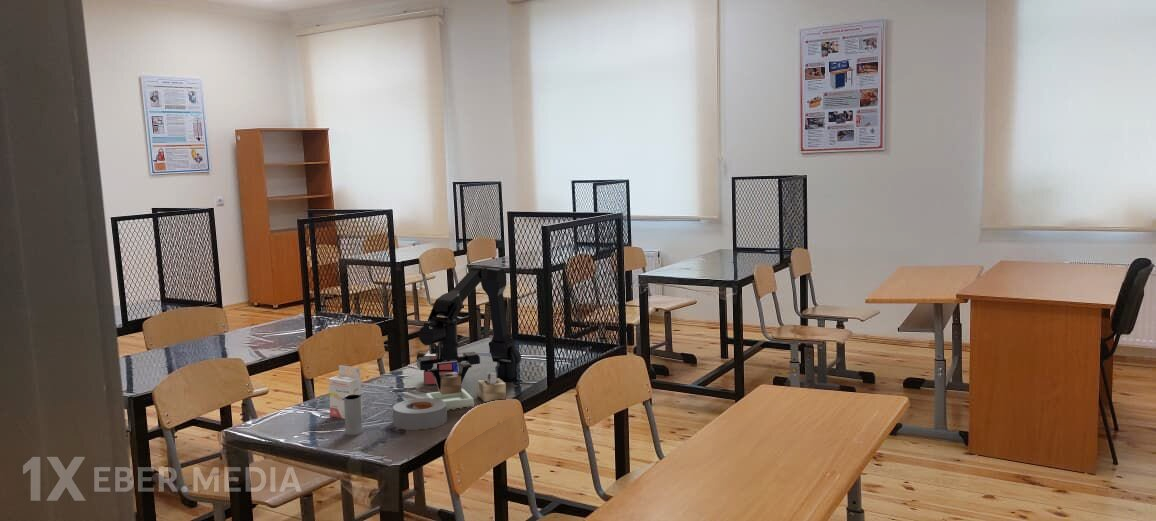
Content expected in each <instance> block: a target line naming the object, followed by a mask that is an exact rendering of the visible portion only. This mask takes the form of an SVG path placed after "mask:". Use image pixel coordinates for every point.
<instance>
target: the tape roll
mask: <svg viewBox="0 0 1156 521" xmlns="http://www.w3.org/2000/svg"><path fill="white" fill-rule="evenodd" d="M447 412H448V410H447V409H446V403H445V402H444V401H442V400H439V399H432V398H426V397H424V398H423V397H422V398H413V399H412V398H411V399H406V400H402V401H399V402H397V403H395V404H394V405H393V406H392V414H393V415H392V421H393V422H392V423H393V426H394V427H395V428H397V429H400V430H405V431H420V430H419V429H424V430H429V429H428V428H431V429H434V428H433V427H435V428H438V427H441V426H443V425H444V423H445V422H446V421H448V414H447ZM446 423H447V422H446ZM446 423H445V424H446ZM442 424H443V425H442ZM440 425H441V426H440ZM437 426H438V427H437ZM417 429H418V430H417Z"/></svg>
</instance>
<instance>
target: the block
mask: <svg viewBox="0 0 1156 521" xmlns="http://www.w3.org/2000/svg"><path fill="white" fill-rule="evenodd" d="M458 373H459V372H458ZM458 373H457V372H451V373H442V374H440V389H438V388H437V390H438V391H437V392H440V393H441V394H442V395H444V394H452V393H460V392H461V389H462V384H461V376H460V375H459V374H458Z"/></svg>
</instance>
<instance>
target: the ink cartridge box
mask: <svg viewBox="0 0 1156 521" xmlns="http://www.w3.org/2000/svg"><path fill="white" fill-rule="evenodd" d="M348 370H350V371H348ZM338 371H339V372H338V373H339V374H338V375H335V376H332V377H330V378H328V386H329V388H328V389H329V390H328V391H329V392H328V394H329V412H330V413H329V416H330V417H332V418H339V419H344V420H345V409H344V397H345V396H348V395H360V396H361V409H362V410H363V397H362V396H363V394H362V377H361V368H360V367H354V366H348V365H342V364H340V365H338ZM351 371H352V372H351Z"/></svg>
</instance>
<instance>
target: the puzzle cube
mask: <svg viewBox="0 0 1156 521" xmlns="http://www.w3.org/2000/svg"><path fill="white" fill-rule="evenodd" d="M423 357H430V358H431V359H439V357H436V354H430V352H429V350H428V351H427V352H426V353H425V354H424V355H423ZM451 361H452V360H451ZM443 362H444V361H443ZM437 368H438V369H439V374H442V373H451V372H457V373H459V367H458V363H451V364H442V365H437ZM423 384H424V385H425V384H434V385H433V386H437V384H436V381H435V378H434V376H433V374H432V372H429V371H428V370H423ZM435 384H436V385H435Z"/></svg>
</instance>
